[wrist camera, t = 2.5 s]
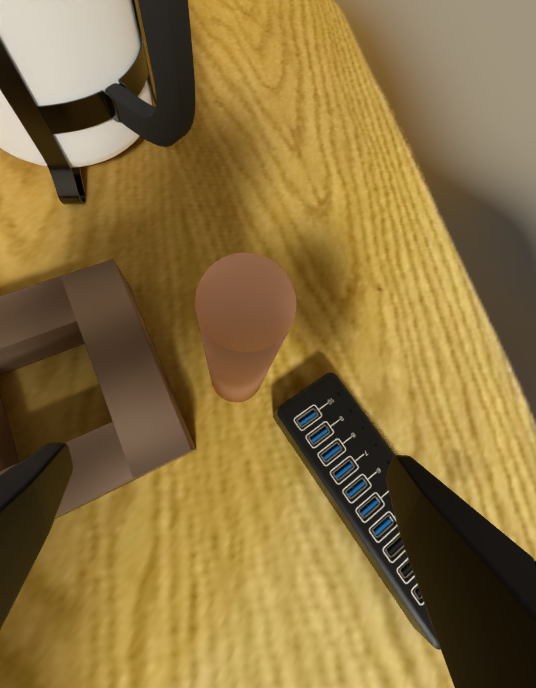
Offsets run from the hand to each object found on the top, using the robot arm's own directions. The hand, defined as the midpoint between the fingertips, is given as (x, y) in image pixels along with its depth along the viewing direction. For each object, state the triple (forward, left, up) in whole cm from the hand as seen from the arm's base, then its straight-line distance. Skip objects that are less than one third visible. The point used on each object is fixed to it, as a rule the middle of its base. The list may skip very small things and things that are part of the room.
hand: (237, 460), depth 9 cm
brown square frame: (+7, +8, -11) cm, 16 cm away
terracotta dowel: (+4, -2, -11) cm, 12 cm away
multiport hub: (-6, -6, -12) cm, 15 cm away
